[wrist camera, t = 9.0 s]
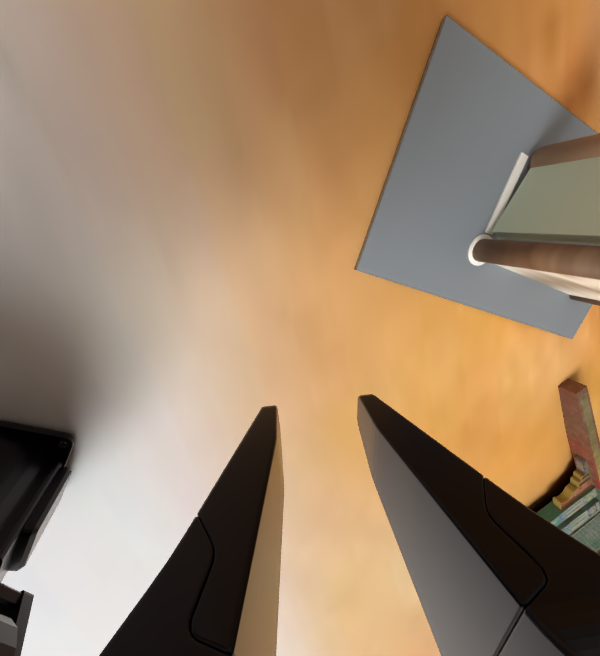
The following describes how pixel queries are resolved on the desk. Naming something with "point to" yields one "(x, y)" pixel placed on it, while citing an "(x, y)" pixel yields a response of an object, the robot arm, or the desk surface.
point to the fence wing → (557, 195)
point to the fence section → (548, 264)
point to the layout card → (468, 184)
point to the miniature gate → (579, 471)
